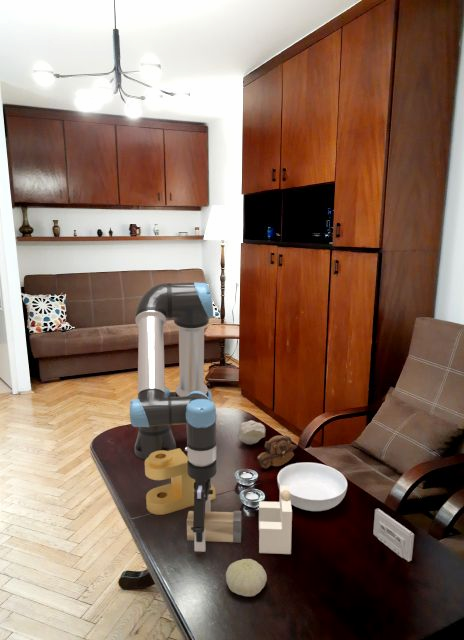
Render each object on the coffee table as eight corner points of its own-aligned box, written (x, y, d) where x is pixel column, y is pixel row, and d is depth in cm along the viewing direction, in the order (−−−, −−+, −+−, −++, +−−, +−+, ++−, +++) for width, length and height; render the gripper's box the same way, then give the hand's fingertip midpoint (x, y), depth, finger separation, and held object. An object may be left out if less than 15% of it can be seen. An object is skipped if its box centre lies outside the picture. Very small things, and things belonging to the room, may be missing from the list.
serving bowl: (349, 487, 143) (350, 467, 141) (342, 528, 123) (343, 506, 122) (284, 475, 149) (285, 456, 148) (269, 512, 130) (269, 491, 128)
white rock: (259, 436, 177) (259, 413, 175) (271, 445, 170) (272, 420, 168) (233, 444, 171) (233, 419, 169) (245, 453, 164) (245, 428, 162)
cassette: (413, 560, 111) (415, 533, 110) (408, 563, 110) (410, 535, 109) (376, 532, 122) (378, 507, 120) (371, 534, 121) (373, 509, 119)
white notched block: (258, 523, 125) (259, 478, 122) (287, 524, 125) (289, 478, 122) (259, 552, 114) (259, 503, 111) (291, 554, 113) (292, 504, 111)
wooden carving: (265, 475, 149) (265, 447, 147) (256, 469, 153) (256, 442, 151) (299, 459, 159) (300, 433, 157) (289, 454, 163) (290, 429, 161)
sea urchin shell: (220, 562, 107) (245, 541, 106) (242, 582, 108) (267, 561, 108) (223, 593, 98) (250, 570, 97) (247, 614, 99) (274, 592, 99)
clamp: (152, 518, 127) (150, 467, 124) (142, 501, 135) (140, 452, 132) (215, 498, 137) (215, 450, 133) (202, 483, 145) (202, 438, 141)
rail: (189, 530, 122) (188, 509, 121) (241, 531, 122) (241, 511, 120) (187, 540, 118) (186, 519, 117) (240, 542, 118) (240, 521, 116)
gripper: (193, 437, 128) (195, 504, 132) (179, 486, 104) (181, 566, 108) (220, 438, 128) (220, 505, 132) (211, 487, 103) (212, 567, 107)
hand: (203, 532), depth 120 cm, fingers open, 13 cm apart
